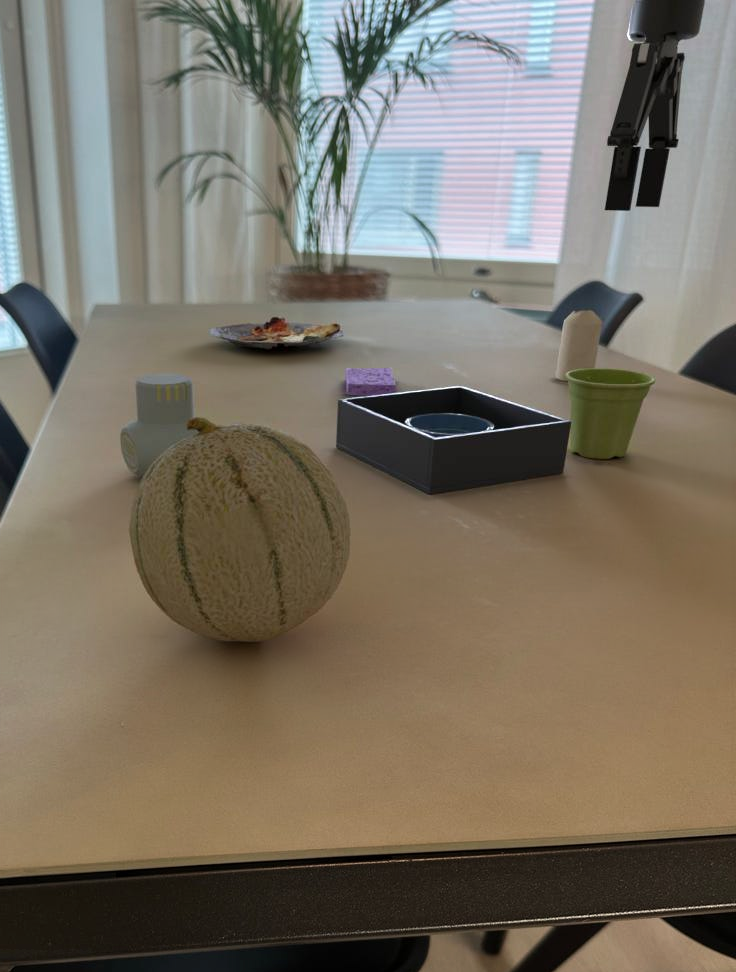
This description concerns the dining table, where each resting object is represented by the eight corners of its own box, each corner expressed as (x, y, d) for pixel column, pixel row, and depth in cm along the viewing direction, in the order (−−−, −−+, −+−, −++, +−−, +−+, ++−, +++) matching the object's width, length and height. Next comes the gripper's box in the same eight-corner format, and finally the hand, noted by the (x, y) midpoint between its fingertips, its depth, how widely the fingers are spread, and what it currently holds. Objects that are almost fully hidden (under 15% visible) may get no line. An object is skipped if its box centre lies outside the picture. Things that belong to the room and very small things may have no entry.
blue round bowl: (508, 460, 100) (512, 428, 98) (435, 471, 96) (438, 438, 94) (456, 439, 107) (459, 409, 106) (386, 449, 104) (388, 418, 102)
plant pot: (550, 459, 102) (562, 380, 98) (558, 438, 110) (569, 365, 106) (639, 468, 99) (655, 387, 95) (640, 446, 107) (655, 371, 103)
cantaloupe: (361, 677, 59) (375, 448, 52) (132, 686, 58) (115, 453, 51) (327, 584, 72) (335, 391, 65) (140, 590, 71) (127, 394, 64)
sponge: (346, 396, 130) (347, 383, 129) (345, 378, 141) (346, 366, 140) (395, 397, 130) (396, 384, 129) (390, 379, 141) (391, 366, 140)
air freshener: (118, 464, 100) (111, 372, 96) (189, 456, 103) (186, 366, 99) (144, 493, 92) (138, 393, 87) (222, 484, 94) (220, 386, 90)
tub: (563, 473, 98) (571, 421, 95) (429, 494, 91) (434, 439, 89) (456, 431, 113) (461, 385, 110) (335, 447, 107) (337, 399, 104)
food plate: (281, 329, 184) (281, 310, 183) (368, 344, 169) (369, 324, 168) (184, 343, 169) (184, 323, 168) (270, 361, 154) (270, 339, 153)
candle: (587, 384, 138) (598, 314, 133) (550, 379, 140) (560, 311, 136) (596, 377, 142) (608, 310, 137) (561, 373, 144) (571, 307, 140)
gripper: (661, 13, 112) (628, 204, 121) (602, -17, 94) (569, 211, 103) (727, 8, 108) (688, 206, 118) (679, -25, 90) (637, 213, 100)
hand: (632, 209), depth 111 cm, fingers open, 13 cm apart
